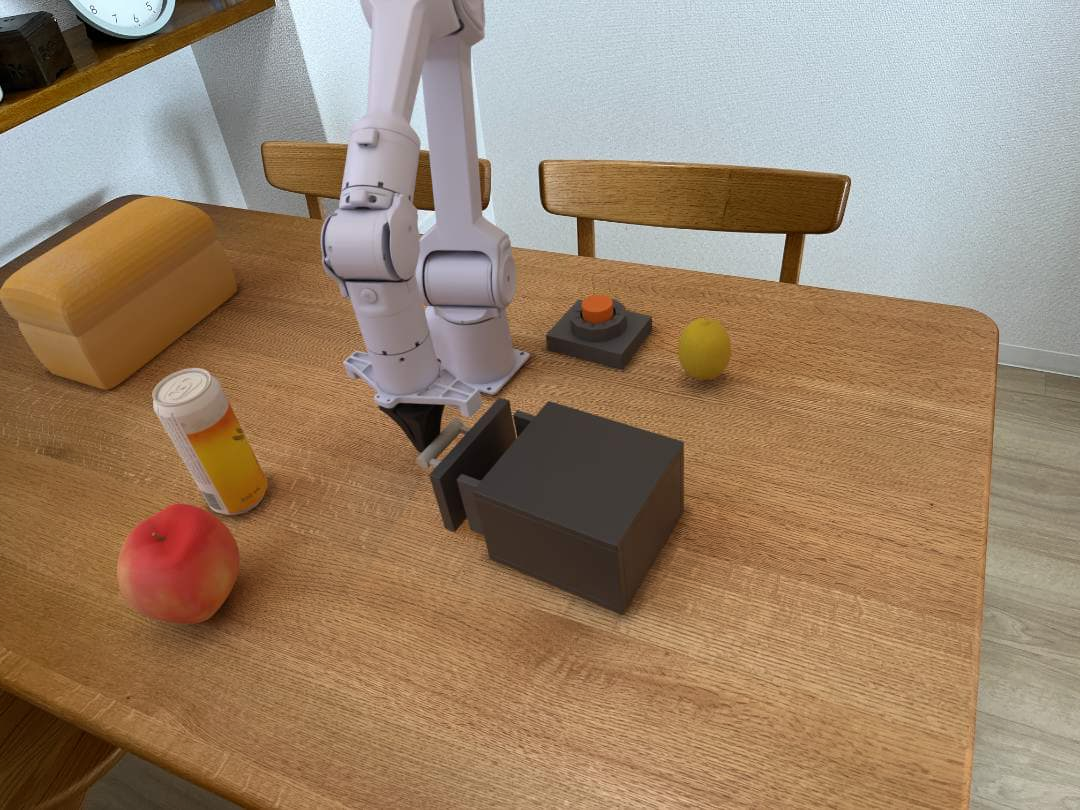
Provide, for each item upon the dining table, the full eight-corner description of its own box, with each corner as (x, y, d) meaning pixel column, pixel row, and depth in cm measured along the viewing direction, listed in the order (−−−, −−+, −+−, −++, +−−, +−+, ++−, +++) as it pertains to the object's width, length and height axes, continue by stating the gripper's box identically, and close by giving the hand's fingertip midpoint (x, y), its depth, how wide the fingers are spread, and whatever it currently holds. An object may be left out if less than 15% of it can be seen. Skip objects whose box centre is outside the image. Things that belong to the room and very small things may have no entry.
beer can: (281, 480, 85) (228, 369, 75) (247, 524, 80) (187, 411, 71) (234, 471, 87) (176, 361, 77) (199, 513, 82) (133, 403, 73)
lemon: (728, 396, 86) (731, 336, 81) (676, 394, 88) (676, 334, 82) (730, 364, 90) (733, 304, 85) (680, 362, 92) (679, 304, 86)
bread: (110, 393, 100) (48, 291, 91) (44, 373, 106) (-21, 275, 96) (244, 288, 116) (203, 192, 106) (180, 275, 121) (136, 182, 111)
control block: (547, 349, 96) (543, 322, 94) (579, 313, 101) (577, 286, 99) (622, 369, 92) (620, 341, 89) (652, 331, 97) (651, 303, 94)
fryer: (489, 559, 74) (472, 491, 68) (558, 468, 81) (548, 400, 75) (623, 615, 67) (617, 546, 61) (684, 512, 75) (684, 441, 69)
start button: (577, 320, 94) (575, 308, 93) (591, 304, 96) (590, 291, 95) (604, 327, 92) (603, 314, 91) (618, 310, 95) (617, 297, 93)
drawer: (410, 514, 78) (392, 460, 73) (476, 439, 85) (464, 386, 80) (559, 576, 70) (550, 521, 65) (618, 488, 77) (614, 432, 72)
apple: (219, 544, 79) (177, 473, 72) (277, 590, 74) (237, 518, 67) (130, 613, 74) (77, 543, 67) (185, 668, 69) (133, 598, 62)
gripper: (306, 342, 71) (347, 451, 80) (435, 383, 65) (465, 498, 74) (358, 300, 76) (392, 408, 84) (484, 334, 69) (507, 448, 78)
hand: (429, 447), depth 79 cm, fingers closed
